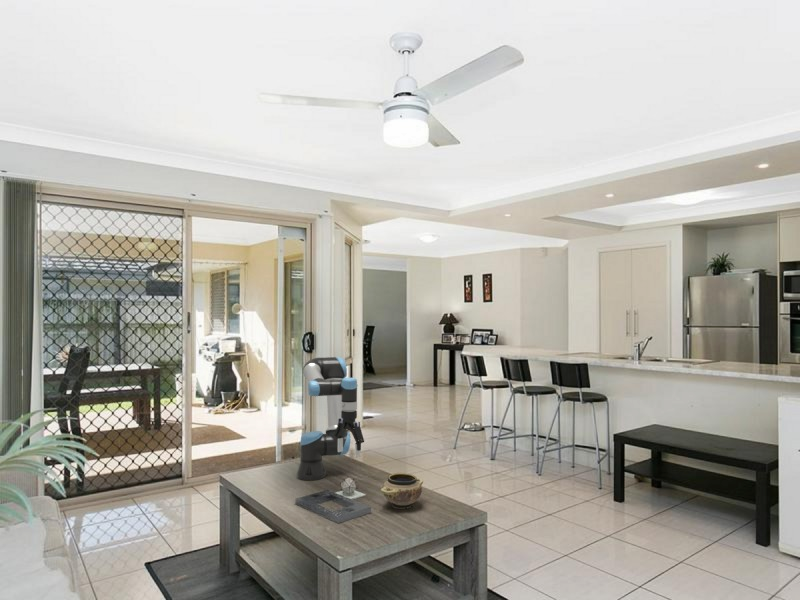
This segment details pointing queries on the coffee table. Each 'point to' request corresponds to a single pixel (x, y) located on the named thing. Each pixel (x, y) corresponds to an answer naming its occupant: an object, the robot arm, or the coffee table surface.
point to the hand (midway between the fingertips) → (348, 454)
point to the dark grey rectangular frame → (337, 516)
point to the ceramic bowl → (402, 489)
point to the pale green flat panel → (352, 495)
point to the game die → (348, 486)
